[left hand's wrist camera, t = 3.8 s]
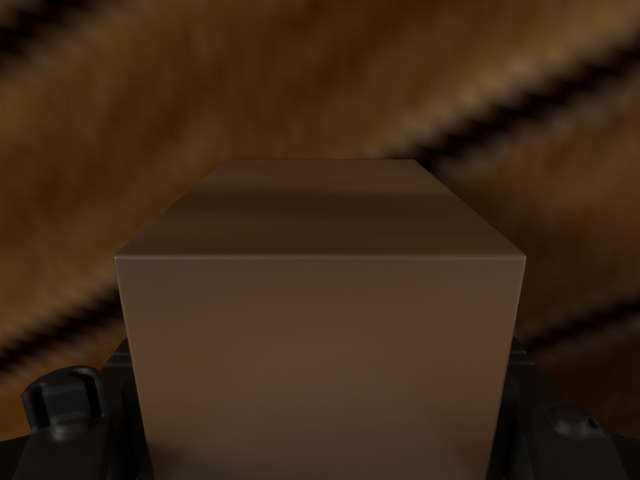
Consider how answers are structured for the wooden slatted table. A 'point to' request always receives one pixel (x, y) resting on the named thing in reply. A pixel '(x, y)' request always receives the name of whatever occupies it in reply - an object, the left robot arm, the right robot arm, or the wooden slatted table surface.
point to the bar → (320, 325)
